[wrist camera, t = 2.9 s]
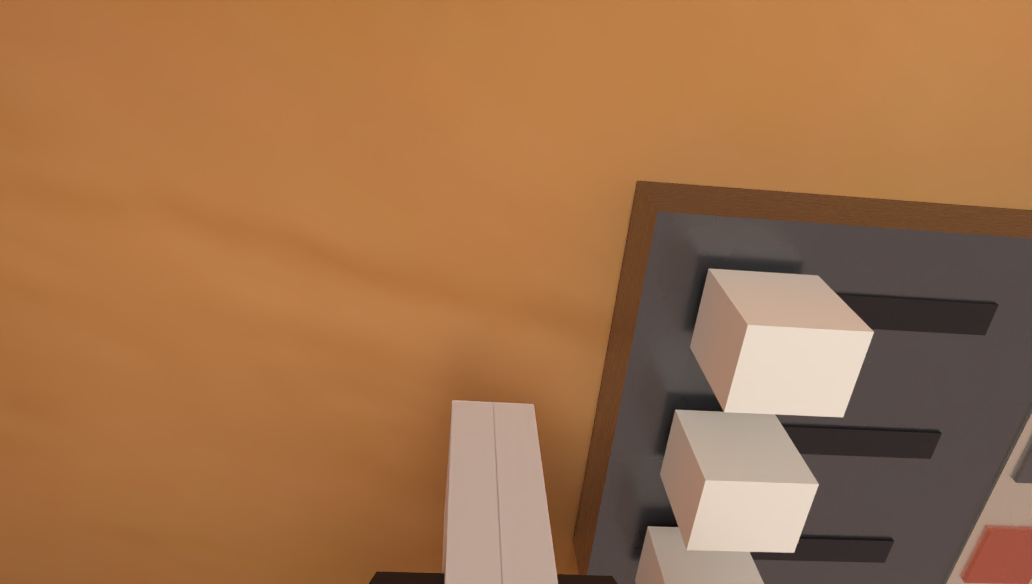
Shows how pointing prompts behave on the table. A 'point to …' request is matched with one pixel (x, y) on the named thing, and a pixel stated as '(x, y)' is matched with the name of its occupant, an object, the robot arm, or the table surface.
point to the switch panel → (876, 395)
